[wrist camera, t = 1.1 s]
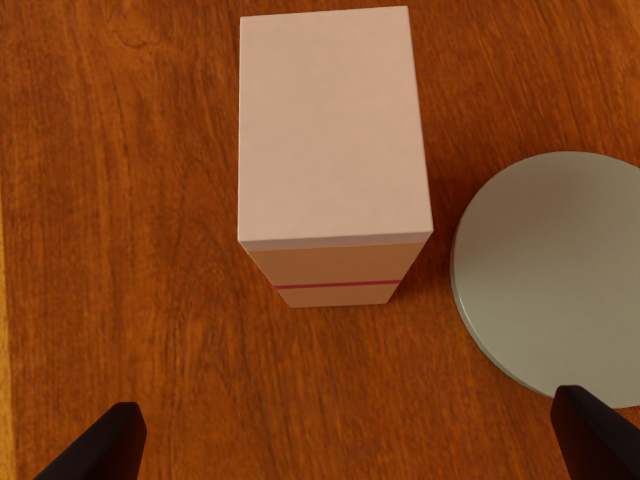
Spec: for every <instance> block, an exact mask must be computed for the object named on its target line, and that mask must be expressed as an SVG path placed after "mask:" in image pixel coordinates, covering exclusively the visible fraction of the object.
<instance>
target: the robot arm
mask: <svg viewBox="0 0 640 480" xmlns="http://www.w3.org/2000/svg"><path fill="white" fill-rule="evenodd" d="M550 417H551V423H552V426H553V429H554V432H555V435H556V437H557V440H558V443H559V446H560V449H561V452H562V455H563V458H564V461H565V464H566V466H567V469H568V472H569V475H570V478H571V480H640V429H639V428H638V427H636V426H635V425H633V424H632V423H631V422H629V421H628V420H627V419H625V418H624V417H623V416H621V415H620V414H619V413H617V412H616V411H615V410H613V409H612V408H610V407H609V406H608V405H606V404H605V403H604V402H602V401H601V400H600V399H598V398H597V397H596V396H594V395H593V394H592V393H590V392H589V391H587V390H586V389H585V388H583V387H582V386H580V385H560V386H558V387H557V389H556V392H555V396H554V400H553V404H552V407H551V412H550ZM146 435H147V429H146V425H145V422H144V419H143V416H142V413H141V411H140V408H139V406H138V404H137V403H136V402H119V403H116V404H115V405H113V406H112V407H111V408H110V409H109V410H108V411H107V412H106V413H105V414H104V415H103V416H101V417H100V418H99V419H98V420H97V421H96V422H95V423H94V424H93V425H92V426H91V427H89V428H88V429H87V430H86V431H85V432H84V433H83V434H82V435H81V436H80V437H79V438H78V439H76V440H75V441H74V442H73V443H72V444H71V445H70V446H69V447H68V448H67V449H66V450H64V451H63V452H62V453H61V454H60V455H59V456H58V457H57V458H56V459H55V460H54V461H52V462H51V463H50V464H49V465H48V466H47V467H46V468H45V469H44V470H43V471H42V472H40V473H39V474H38V475H37V476H36V477H35V478H34V479H33V480H137V476H138V472H139V468H140V463H141V459H142V454H143V450H144V445H145V441H146Z"/></svg>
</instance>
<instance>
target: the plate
mask: <svg viewBox="0 0 640 480" xmlns="http://www.w3.org/2000/svg"><path fill="white" fill-rule="evenodd" d="M450 279H451V287H452V291H453V295H454V299H455V303H456V305H457V308H458V311H459V313H460V316H461V318H462V320H463V322H464V324H465V326H466V328H467V330H468V331H469V333H470V335H471V336H472V338H473V339H474V340H475V342H476V343H477V345H478V346H479V348H480V349H481V350H482V351H483V352H484V353H485V354H486V356H487V357H488V358H489V359H490V360H491V361H492V362H493V363H494V364H495V365H496V366H497V367H498V368H500V369H501V370H502V371H503V372H504V373H505V374H506V375H508V376H509V377H511V378H512V379H514V380H515V381H517V382H518V383H520V384H521V385H522V386H524V387H526V388H528V389H530V390H532V391H534V392H536V393H538V394H540V395H542V396H545V397H548V398H550V399H553V400H554V396H555V392H556V389H557V387H558V386H560V385H580V386H582V387H583V388H585V389H586V390H587V391H589V392H590V393H592V394H593V395H594V396H596V397H597V398H598V399H600V400H601V401H602V402H604V403H605V404H606V405H608V406H609V407H610V408H612V409H616V408H628V407H634V406H640V168H638V167H636V166H634V165H631V164H629V163H626V162H624V161H622V160H619V159H615V158H612V157H609V156H605V155H600V154H595V153H589V152H578V151H562V152H551V153H545V154H539V155H536V156H533V157H529V158H526V159H523V160H521V161H519V162H516V163H514V164H512V165H510V166H508V167H507V168H505V169H503V170H502V171H500V172H498V173H497V174H496V175H495V176H493V177H492V178H491V179H490V180H489V181H487V182H486V183H485V184H484V185H483V186H482V188H481V189H480V190H479V191H478V192H477V193H476V194H475V196H474V197H473V198H472V200H471V201H470V203H469V204H468V205H467V207H466V208H465V210H464V211H463V213H462V215H461V218H460V220H459V222H458V224H457V226H456V229H455V233H454V236H453V239H452V245H451V251H450Z"/></svg>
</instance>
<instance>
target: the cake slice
mask: <svg viewBox="0 0 640 480" xmlns="http://www.w3.org/2000/svg"><path fill="white" fill-rule="evenodd" d="M433 230H434V228H433V220H432V211H431V202H430V194H429V185H428V176H427V168H426V159H425V150H424V141H423V133H422V124H421V115H420V107H419V98H418V89H417V81H416V72H415V63H414V55H413V46H412V37H411V29H410V20H409V11H408V7H407V6H396V7H381V8H366V9H352V10H337V11H322V12H307V13H293V14H278V15H263V16H248V17H241V19H240V86H239V174H238V241H239V243H240V244H241V245H242V246H243V248H244V249H245V250H246V252H247V253H248V254H249V256H250V257H251V258H252V259H253V261H254V262H255V263H256V264H257V266H258V267H259V268H260V269H261V271H262V272H263V273H264V275H265V276H266V277H267V278H268V280H269V281H270V282H271V283H272V285H273V286H274V288H275V289H276V290H277V291H278V292H279V293H280V295H281V296H282V297H283V299H284V300H285V301H286V302H287V304H288V305H289V306H290V307H291V308H302V307H323V306H345V305H367V304H386V303H387V302H388V300H389V299H390V297H391V296H392V294H393V293H394V291H395V290H396V288H397V287H398V285H399V283H400V282H401V281H402V279H403V277H404V276H405V274H406V273H407V271H408V270H409V268H410V267H411V265H412V263H413V262H414V260H415V259H416V257H417V256H418V254H419V253H420V251H421V250H422V248H423V246H424V245H425V243H426V241H427V240H428V238H429V237H430V235H431V234H432V232H433Z"/></svg>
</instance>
